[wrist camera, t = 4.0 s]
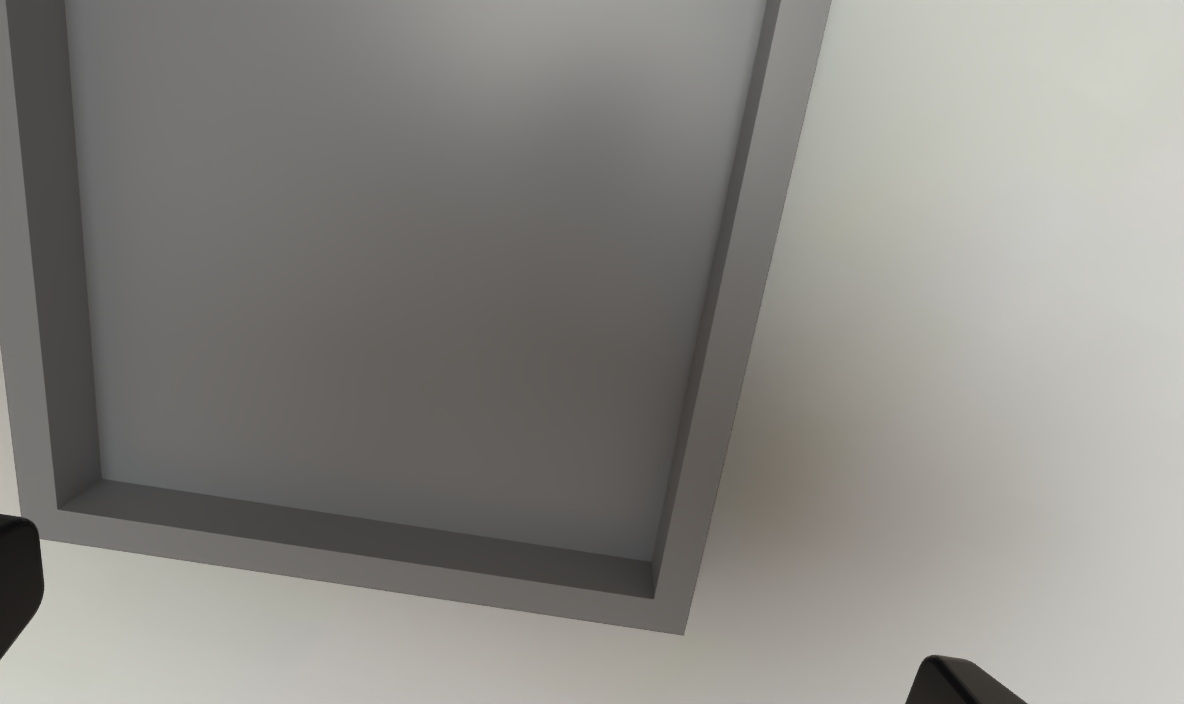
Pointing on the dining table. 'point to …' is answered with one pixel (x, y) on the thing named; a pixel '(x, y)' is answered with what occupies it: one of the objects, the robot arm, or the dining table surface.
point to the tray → (394, 283)
